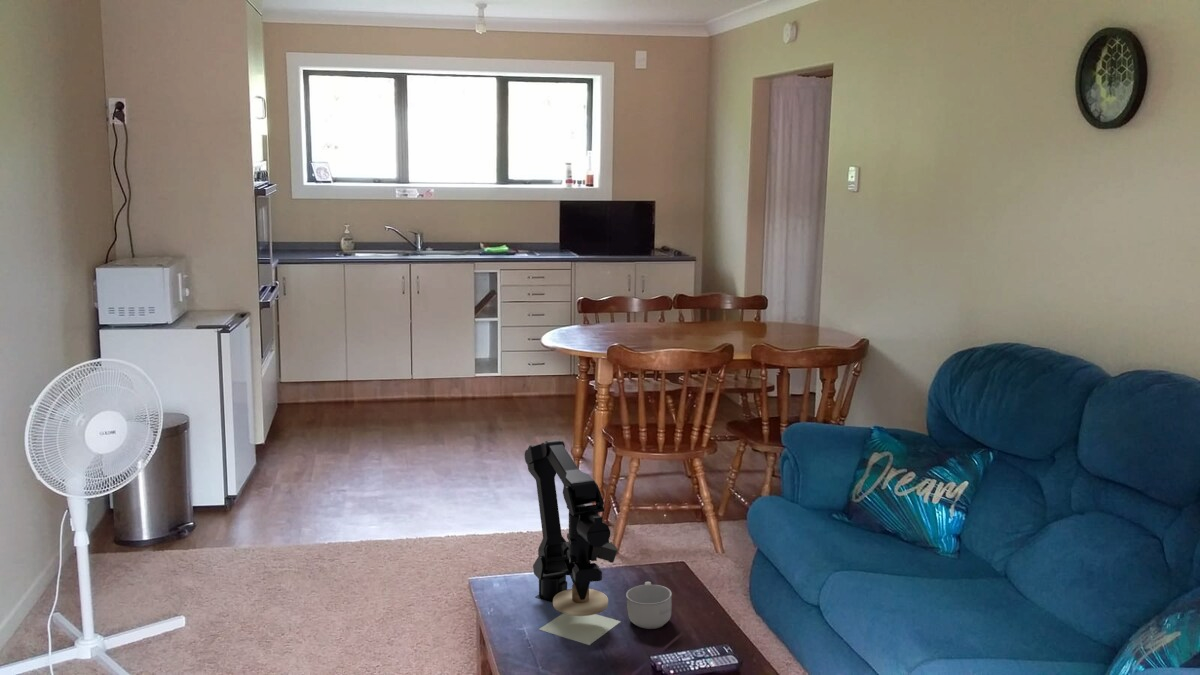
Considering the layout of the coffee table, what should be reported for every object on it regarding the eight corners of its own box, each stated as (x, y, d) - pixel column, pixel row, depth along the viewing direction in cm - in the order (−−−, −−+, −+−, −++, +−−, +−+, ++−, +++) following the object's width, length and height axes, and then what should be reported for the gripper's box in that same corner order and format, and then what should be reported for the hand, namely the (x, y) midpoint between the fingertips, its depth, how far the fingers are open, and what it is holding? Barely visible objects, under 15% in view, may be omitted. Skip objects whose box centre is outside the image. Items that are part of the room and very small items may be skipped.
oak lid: (542, 607, 228) (542, 589, 228) (572, 587, 239) (572, 570, 238) (589, 620, 221) (589, 602, 221) (618, 600, 232) (618, 582, 232)
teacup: (668, 636, 227) (668, 604, 226) (622, 632, 229) (622, 599, 228) (675, 610, 241) (676, 580, 240) (632, 606, 243) (632, 576, 242)
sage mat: (538, 631, 229) (538, 629, 229) (572, 609, 241) (572, 607, 241) (589, 647, 222) (589, 644, 222) (620, 623, 234) (620, 621, 233)
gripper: (624, 544, 220) (623, 609, 223) (605, 516, 238) (605, 577, 241) (575, 547, 218) (575, 613, 220) (560, 519, 236) (560, 580, 238)
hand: (580, 595), depth 230 cm, fingers closed on oak lid, 4 cm apart
